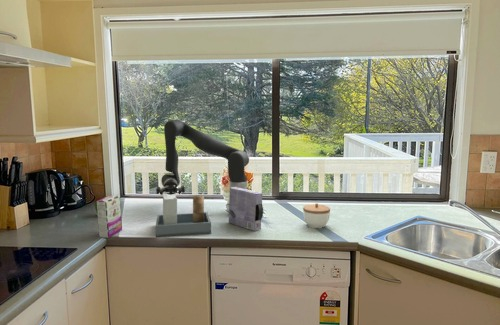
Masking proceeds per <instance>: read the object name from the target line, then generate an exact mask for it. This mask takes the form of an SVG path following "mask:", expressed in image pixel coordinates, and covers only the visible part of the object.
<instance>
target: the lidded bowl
mask: <svg viewBox="0 0 500 325" xmlns="http://www.w3.org/2000/svg"><path fill="white" fill-rule="evenodd" d="M302 212H303V219H304V222H305V223H306V224H307V225H308V227H309V228H311V227H312V228H311V229H316V228H319V229H323V228H324V227H325V226H326V225H327V224H328V222H329V220H330V215H331V213H330V212H331V208H330V207H329V206H327V205H324V204H319V203H315V204H306V205H304V206H303V207H302ZM322 227H323V228H322Z"/></svg>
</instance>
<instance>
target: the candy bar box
mask: <svg viewBox="0 0 500 325" xmlns="http://www.w3.org/2000/svg"><path fill="white" fill-rule="evenodd" d="M105 197H106V198H104V197H103V198H101V199H98V200H96V201H95V203H96V202H97V212H96V214H97V224H98V225H97V227H98V235H99V236H98V237H99V238H101V239H103V238H105V239H109V238H111V237H113V236H115V235H117V234H118V233H120V232H121V231H122V230H123V224H122V223H123V219H122V205H121V195H116V194H115V195H114V194H112V195H109V196H108V197H107V196H105Z"/></svg>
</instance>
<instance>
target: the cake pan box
mask: <svg viewBox="0 0 500 325" xmlns="http://www.w3.org/2000/svg"><path fill="white" fill-rule="evenodd" d="M228 200H229V202H228V204H229V205H228V224H233V225H235V226H237V227H241V228H243V229H248V230H251V231H253V232H257V231H260V230H262V219H263V215H264V206H263V193H262V192H259V191H258V192H257V191H254V190H251V189H248V188H247V189H242V188H238V187H231V188H230V187H229V199H228ZM259 229H260V230H259ZM256 230H257V231H256Z"/></svg>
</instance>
